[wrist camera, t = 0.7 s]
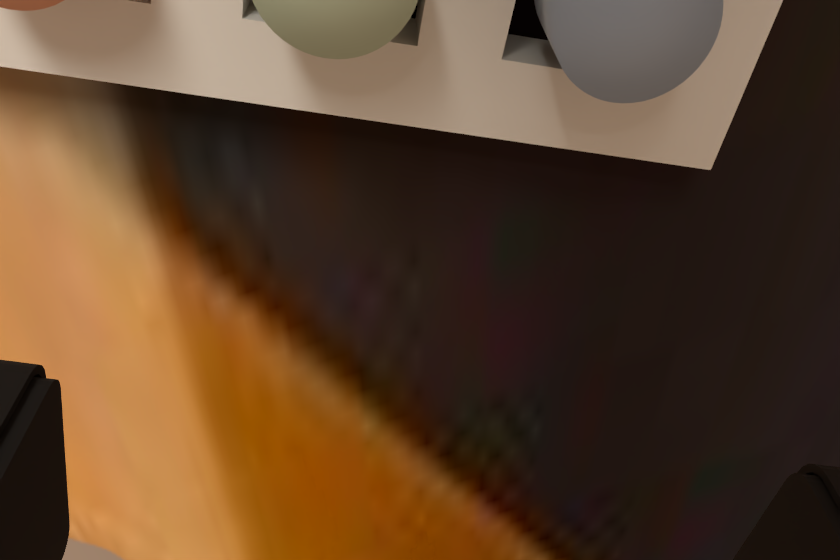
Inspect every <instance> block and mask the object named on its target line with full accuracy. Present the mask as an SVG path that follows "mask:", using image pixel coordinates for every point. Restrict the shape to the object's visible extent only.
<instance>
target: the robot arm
mask: <svg viewBox="0 0 840 560" xmlns="http://www.w3.org/2000/svg"><path fill="white" fill-rule="evenodd" d="M68 536H69V509H68V494H67V478H66V463H65V448H64V432H63V417H62V401H61V387H60V382H59V381H58V380H55V379H47V378H46V374H45V370H44V368H43V366H42V365H36V364H29V363H21V362H13V361H5V360H0V560H62V558H63V555H64V552H65V549H66V545H67V541H68ZM733 560H840V468H839V467H831V466H823V465H815V464H808V465H805V466H803V467H802V468H801V469H800V470H799V471H798V473H794V474H791V475H790V476H789V477H788V478H787V479H786V481H785V482H784V484H783V485H782V487H781V488H780V490H779V491H778V493H777V494H776V496H775V497H774V499H773V500H772V502H771V503H770V505H769V506H768V508H767V509H766V511H765V512H764V514H763V515H762V517H761V518H760V520H759V521H758V523H757V524H756V526H755V527H754V529H753V530H752V532H751V533H750V535H749V536H748V538H747V539H746V541H745V542H744V544H743V545H742V547H741V548H740V550H739V551H738V553H737V554H736V556H735V557H734V559H733Z"/></svg>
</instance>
